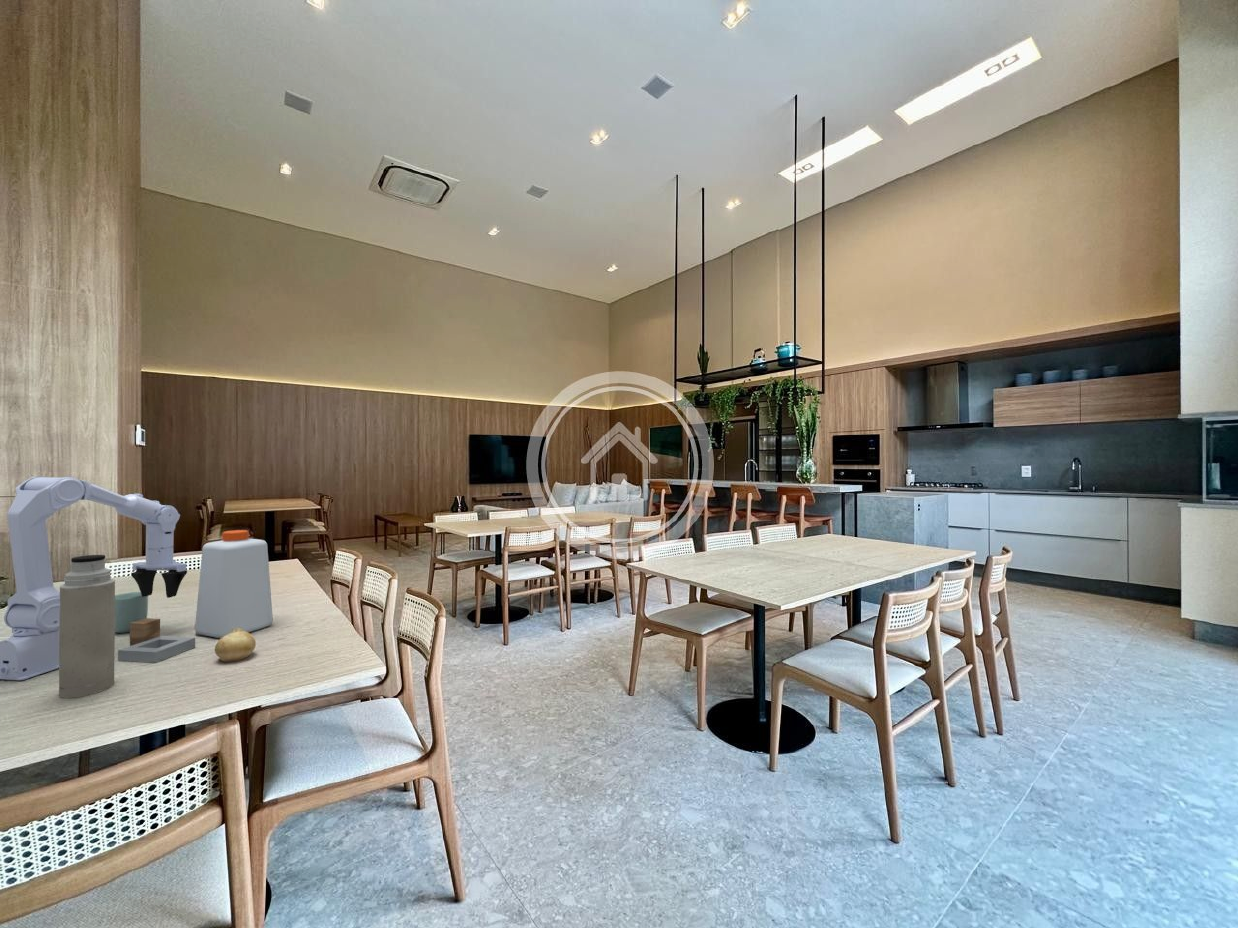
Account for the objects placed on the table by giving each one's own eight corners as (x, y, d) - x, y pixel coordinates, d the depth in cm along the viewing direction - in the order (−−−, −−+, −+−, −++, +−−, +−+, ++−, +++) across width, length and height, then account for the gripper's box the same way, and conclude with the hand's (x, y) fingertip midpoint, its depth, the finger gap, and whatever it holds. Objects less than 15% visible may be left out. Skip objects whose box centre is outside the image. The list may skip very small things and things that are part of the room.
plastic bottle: (244, 618, 153) (244, 526, 153) (279, 624, 148) (280, 529, 148) (187, 634, 139) (188, 533, 138) (224, 641, 134) (225, 536, 133)
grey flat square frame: (155, 662, 119) (155, 652, 119) (117, 660, 120) (118, 650, 120) (195, 647, 129) (195, 637, 129) (160, 645, 130) (160, 635, 130)
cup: (155, 626, 144) (155, 592, 144) (125, 636, 137) (126, 599, 137) (130, 625, 145) (131, 591, 145) (100, 634, 138) (100, 598, 137)
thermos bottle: (57, 690, 105) (58, 556, 105) (111, 677, 111) (112, 551, 111) (60, 701, 100) (61, 561, 99) (116, 688, 106) (117, 555, 106)
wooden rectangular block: (144, 651, 126) (144, 623, 126) (129, 650, 126) (130, 622, 126) (160, 645, 130) (160, 618, 130) (146, 644, 130) (146, 618, 130)
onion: (263, 654, 125) (263, 625, 125) (231, 666, 118) (231, 636, 118) (239, 650, 127) (239, 622, 127) (206, 662, 120) (206, 633, 120)
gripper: (196, 546, 144) (196, 593, 144) (150, 544, 145) (150, 591, 145) (172, 550, 137) (172, 600, 137) (124, 548, 138) (124, 598, 138)
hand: (159, 596), depth 140 cm, fingers open, 7 cm apart
